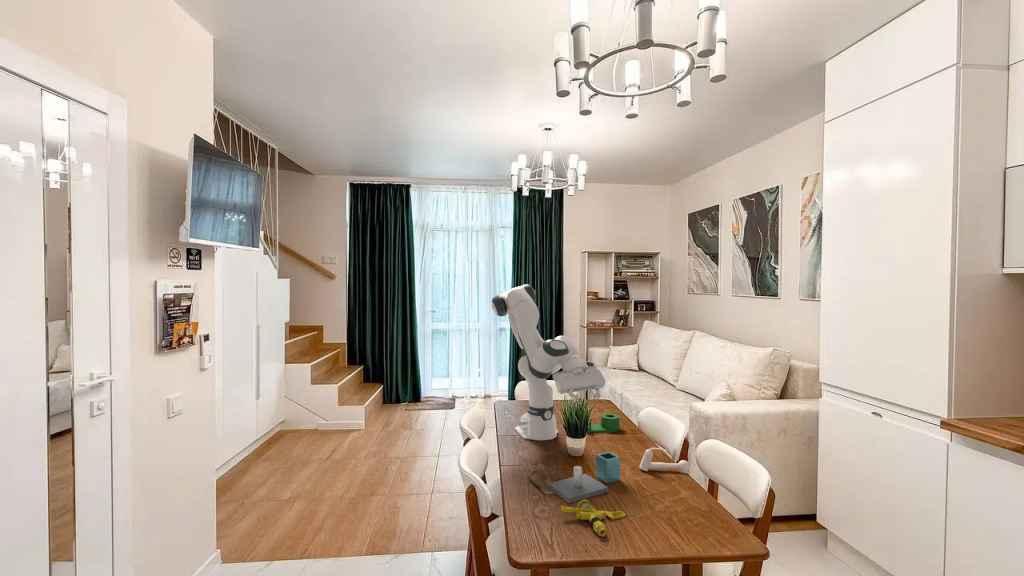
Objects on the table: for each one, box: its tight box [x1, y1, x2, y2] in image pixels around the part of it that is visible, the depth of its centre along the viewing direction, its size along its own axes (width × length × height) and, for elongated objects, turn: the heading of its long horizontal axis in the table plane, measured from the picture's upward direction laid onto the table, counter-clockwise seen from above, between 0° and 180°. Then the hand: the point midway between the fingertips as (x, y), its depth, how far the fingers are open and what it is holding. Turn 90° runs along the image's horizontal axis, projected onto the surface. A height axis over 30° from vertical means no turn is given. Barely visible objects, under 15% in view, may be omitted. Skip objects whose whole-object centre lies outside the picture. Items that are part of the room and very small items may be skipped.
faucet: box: [639, 447, 691, 474], centre depth 160 cm, size 4×18×10 cm, turn 86°
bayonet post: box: [548, 465, 609, 504], centre depth 144 cm, size 12×16×8 cm
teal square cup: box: [595, 451, 621, 484], centre depth 153 cm, size 6×6×8 cm
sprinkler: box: [560, 499, 626, 537], centre depth 124 cm, size 19×4×15 cm
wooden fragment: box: [529, 463, 561, 496], centre depth 153 cm, size 26×11×1 cm, turn 179°
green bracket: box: [587, 413, 621, 434], centre depth 208 cm, size 18×9×6 cm, turn 96°
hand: (587, 398), depth 163 cm, fingers open, 8 cm apart
